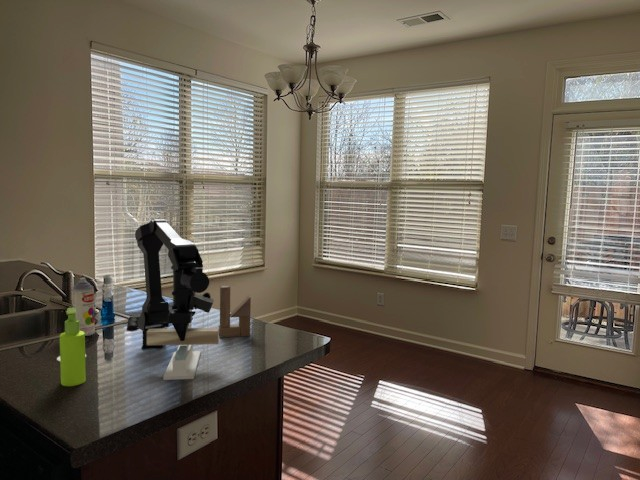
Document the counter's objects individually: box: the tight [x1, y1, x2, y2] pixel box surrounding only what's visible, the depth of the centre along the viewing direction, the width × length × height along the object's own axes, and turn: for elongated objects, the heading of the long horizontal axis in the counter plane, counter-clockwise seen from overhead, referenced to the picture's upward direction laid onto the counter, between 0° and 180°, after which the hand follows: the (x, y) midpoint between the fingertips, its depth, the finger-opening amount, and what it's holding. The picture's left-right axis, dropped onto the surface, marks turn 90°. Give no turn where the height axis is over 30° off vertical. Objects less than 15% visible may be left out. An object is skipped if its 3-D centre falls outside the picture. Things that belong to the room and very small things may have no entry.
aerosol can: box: [71, 277, 96, 337], centre depth 166 cm, size 7×7×20 cm
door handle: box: [126, 315, 168, 331], centre depth 180 cm, size 3×20×16 cm
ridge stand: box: [162, 345, 202, 381], centre depth 140 cm, size 8×20×6 cm, turn 9°
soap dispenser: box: [59, 307, 87, 387], centre depth 125 cm, size 6×7×20 cm
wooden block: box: [218, 285, 252, 339], centre depth 170 cm, size 4×11×18 cm, turn 109°
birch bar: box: [147, 327, 220, 346], centre depth 139 cm, size 3×20×4 cm, turn 99°
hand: (183, 339), depth 139 cm, fingers closed on birch bar, 3 cm apart
